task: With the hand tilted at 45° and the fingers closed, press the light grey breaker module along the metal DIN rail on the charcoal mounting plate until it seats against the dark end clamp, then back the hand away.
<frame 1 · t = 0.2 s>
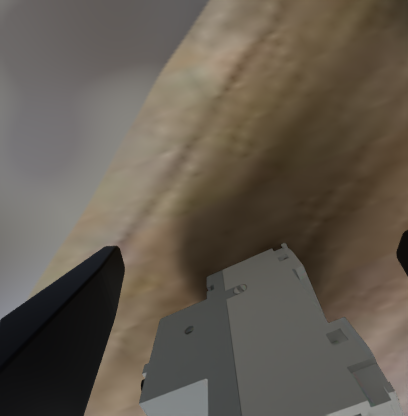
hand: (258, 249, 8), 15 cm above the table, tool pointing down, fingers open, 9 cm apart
circuit breaker: (232, 302, 26), on the table
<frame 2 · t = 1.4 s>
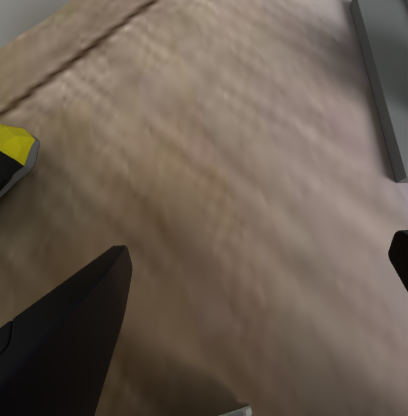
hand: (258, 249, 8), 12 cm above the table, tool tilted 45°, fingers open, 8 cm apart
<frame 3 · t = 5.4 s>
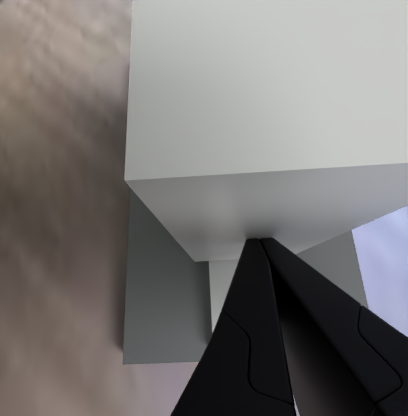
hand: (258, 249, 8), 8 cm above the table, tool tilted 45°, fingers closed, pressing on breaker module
din rail plate: (231, 186, 17), on the table
breaker module: (247, 165, 10), point 7 cm above the table, slide at 1.0 cm, touching gripper
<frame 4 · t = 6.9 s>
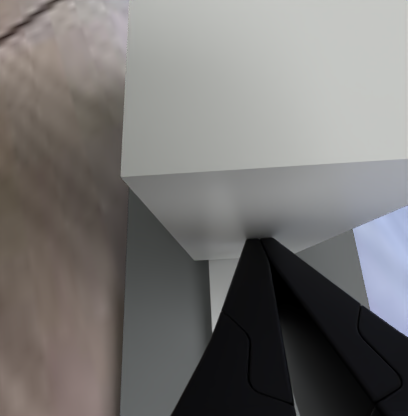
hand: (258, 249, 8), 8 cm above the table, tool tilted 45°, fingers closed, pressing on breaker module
din rail plate: (241, 291, 15), on the table
breaker module: (247, 163, 10), point 7 cm above the table, slide at 7.8 cm, touching gripper
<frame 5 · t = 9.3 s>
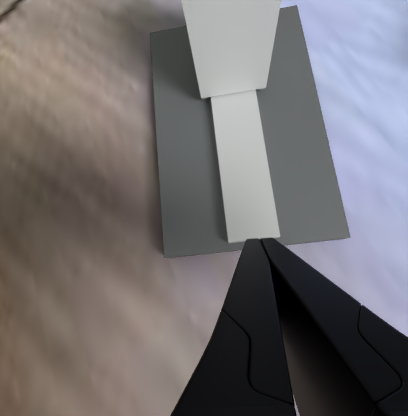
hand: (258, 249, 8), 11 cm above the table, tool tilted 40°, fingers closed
din rail plate: (236, 128, 22), on the table
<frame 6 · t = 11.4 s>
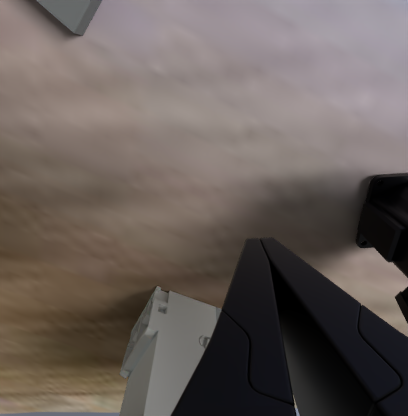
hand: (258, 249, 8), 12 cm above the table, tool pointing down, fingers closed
circuit breaker: (205, 328, 29), on the table
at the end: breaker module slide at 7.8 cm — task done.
